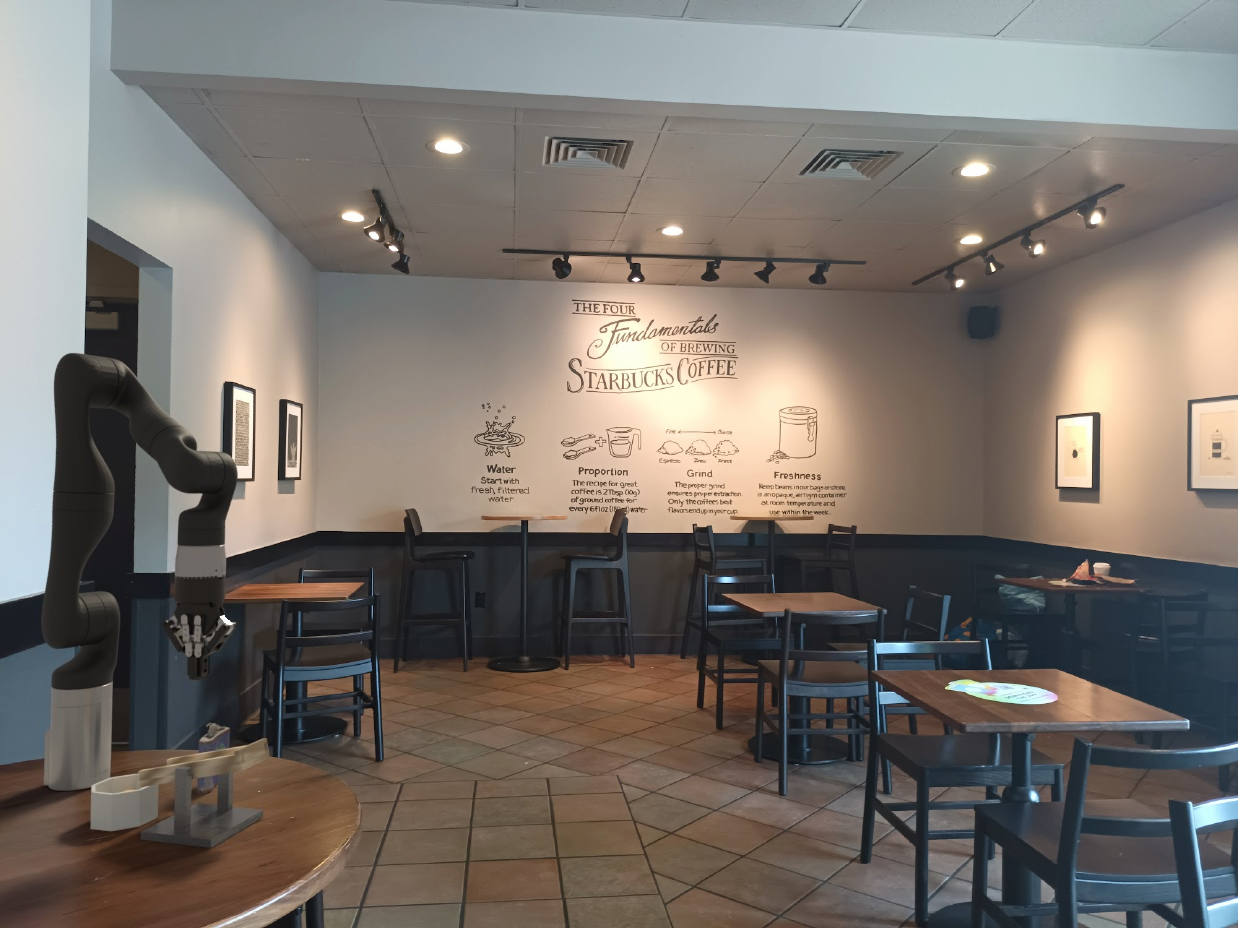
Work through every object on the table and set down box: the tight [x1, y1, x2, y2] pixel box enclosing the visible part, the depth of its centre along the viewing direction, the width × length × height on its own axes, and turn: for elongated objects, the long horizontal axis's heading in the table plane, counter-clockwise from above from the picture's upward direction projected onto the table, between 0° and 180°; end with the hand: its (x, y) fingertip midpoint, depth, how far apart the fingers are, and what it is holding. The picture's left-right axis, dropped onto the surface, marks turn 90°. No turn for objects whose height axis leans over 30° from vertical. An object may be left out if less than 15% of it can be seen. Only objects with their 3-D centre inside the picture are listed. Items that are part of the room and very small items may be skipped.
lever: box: [137, 737, 271, 787], centre depth 135 cm, size 18×14×3 cm
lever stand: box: [140, 748, 264, 849], centre depth 132 cm, size 12×12×11 cm
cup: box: [89, 773, 160, 832], centre depth 135 cm, size 9×9×6 cm
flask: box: [196, 722, 231, 795], centre depth 151 cm, size 9×3×11 cm, turn 2°
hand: (197, 678), depth 140 cm, fingers closed
